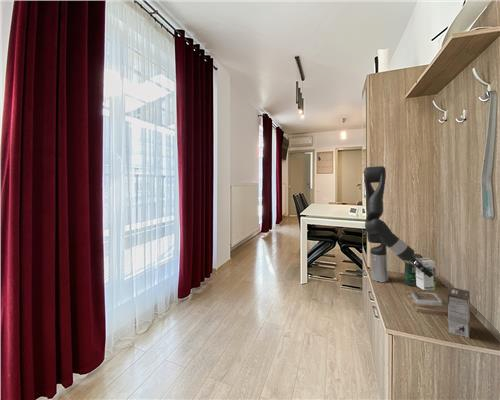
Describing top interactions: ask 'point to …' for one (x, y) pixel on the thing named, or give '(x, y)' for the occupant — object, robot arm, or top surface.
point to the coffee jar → (410, 272)
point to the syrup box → (422, 278)
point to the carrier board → (428, 309)
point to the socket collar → (426, 303)
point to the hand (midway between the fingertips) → (428, 273)
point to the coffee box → (459, 312)
